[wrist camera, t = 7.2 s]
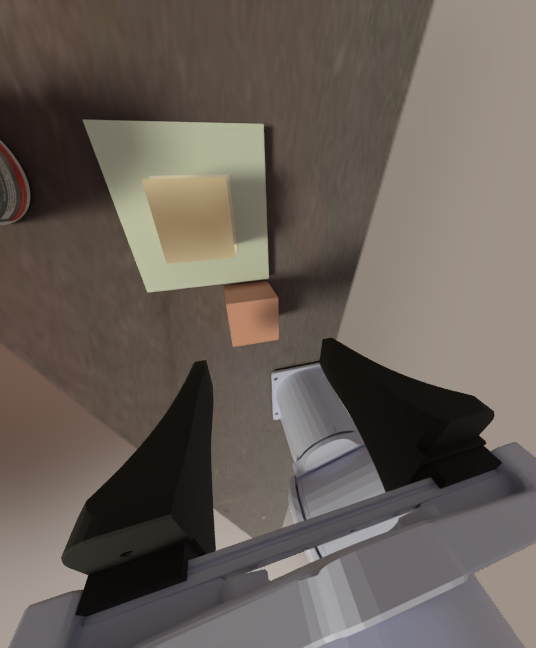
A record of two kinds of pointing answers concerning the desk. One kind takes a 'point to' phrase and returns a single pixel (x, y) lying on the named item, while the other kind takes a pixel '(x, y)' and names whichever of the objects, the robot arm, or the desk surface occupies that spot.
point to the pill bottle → (12, 188)
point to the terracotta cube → (252, 313)
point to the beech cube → (191, 217)
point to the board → (186, 162)
